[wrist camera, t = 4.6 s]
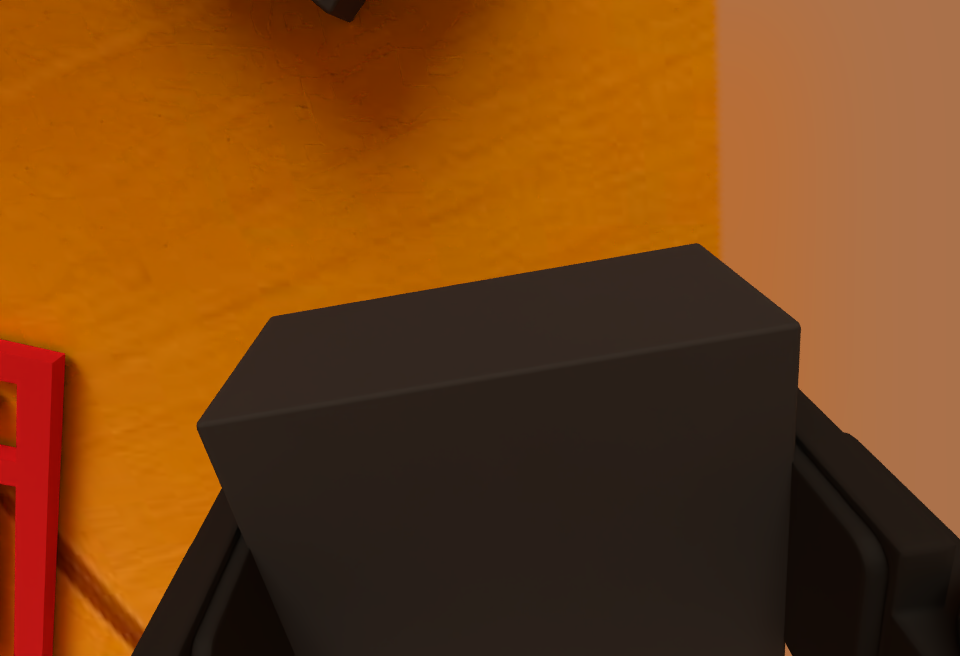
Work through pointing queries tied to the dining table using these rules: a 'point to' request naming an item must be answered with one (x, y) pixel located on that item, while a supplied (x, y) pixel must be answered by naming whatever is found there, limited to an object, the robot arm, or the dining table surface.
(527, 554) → the pad
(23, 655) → the maze puzzle
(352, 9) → the pad
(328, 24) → the dining table surface
